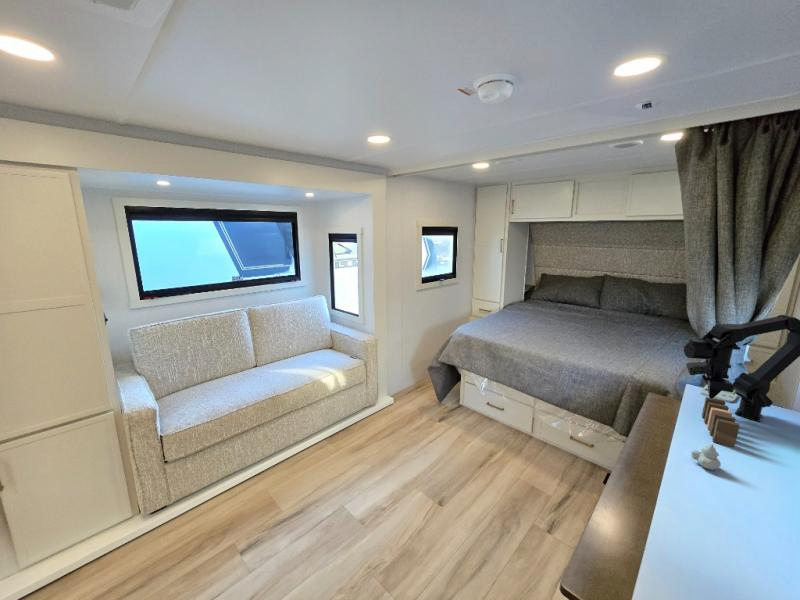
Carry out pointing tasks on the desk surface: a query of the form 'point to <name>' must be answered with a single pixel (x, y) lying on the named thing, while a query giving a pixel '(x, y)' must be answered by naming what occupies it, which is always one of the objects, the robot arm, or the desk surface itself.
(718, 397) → the handheld gaming console
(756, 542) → the desk surface
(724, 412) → the domino
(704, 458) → the grey lumpy figure
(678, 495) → the desk surface
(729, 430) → the domino
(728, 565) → the desk surface
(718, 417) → the domino
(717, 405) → the domino
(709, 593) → the desk surface
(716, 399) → the domino
